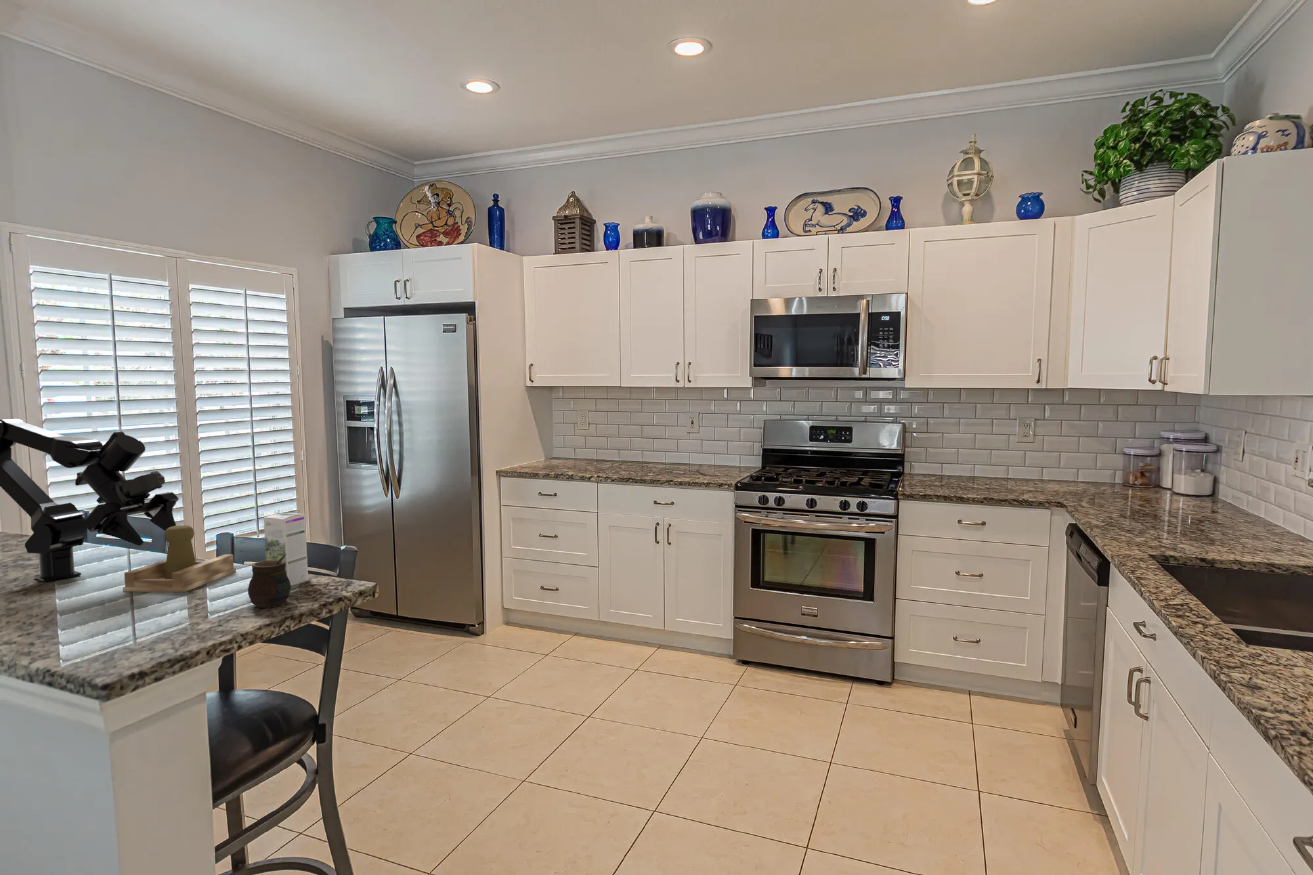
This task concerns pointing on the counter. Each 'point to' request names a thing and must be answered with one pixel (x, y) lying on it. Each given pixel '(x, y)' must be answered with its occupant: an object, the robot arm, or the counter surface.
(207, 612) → the counter surface
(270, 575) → the mate gourd
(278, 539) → the syrup box
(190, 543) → the olive pepper mill
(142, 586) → the track
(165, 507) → the robot arm
